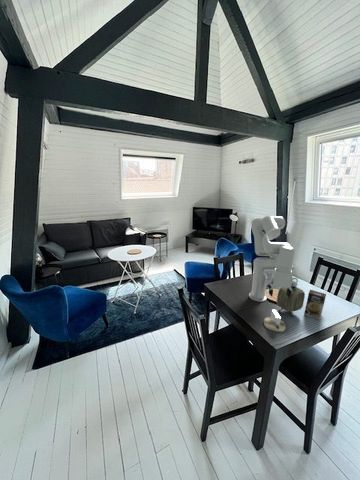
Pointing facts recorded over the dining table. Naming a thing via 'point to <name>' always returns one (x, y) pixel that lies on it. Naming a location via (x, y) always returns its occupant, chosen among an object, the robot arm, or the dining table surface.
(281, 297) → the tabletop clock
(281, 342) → the dining table surface
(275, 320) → the dial knob
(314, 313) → the coffee box
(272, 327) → the dial base
